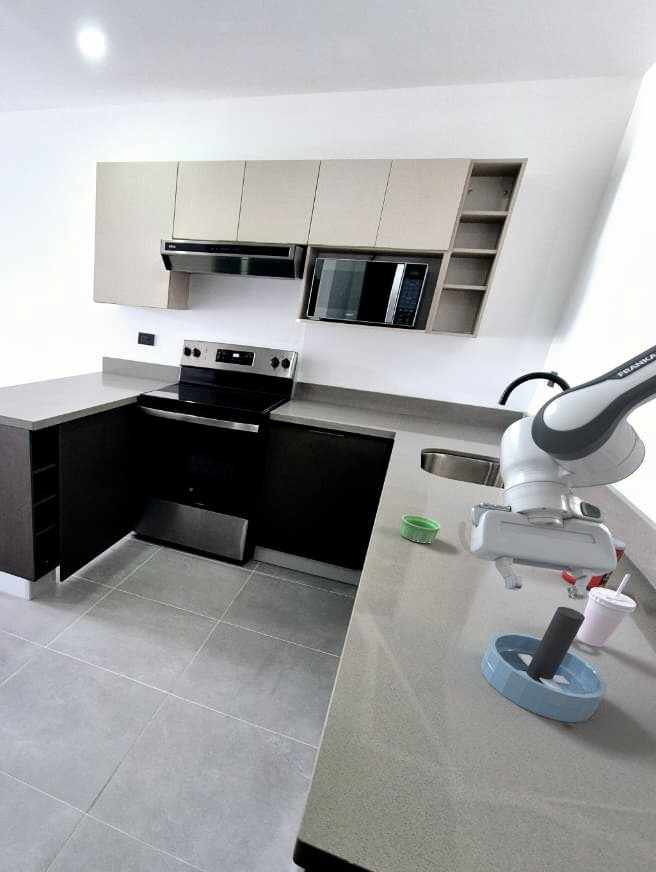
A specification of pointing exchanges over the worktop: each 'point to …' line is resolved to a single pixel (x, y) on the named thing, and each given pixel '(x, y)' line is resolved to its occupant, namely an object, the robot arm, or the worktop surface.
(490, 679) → the shallow blue bowl
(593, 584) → the canned food
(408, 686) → the worktop surface
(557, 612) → the black cylinder
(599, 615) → the smoothie
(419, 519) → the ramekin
